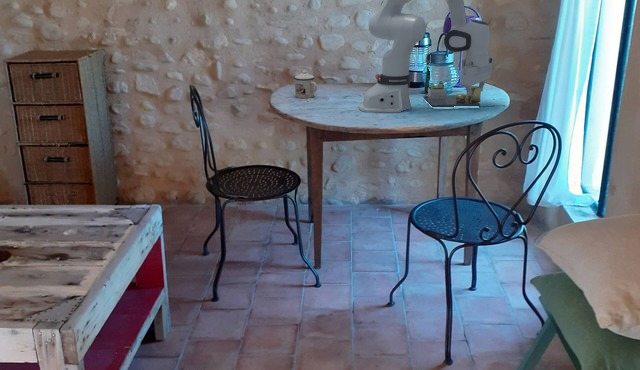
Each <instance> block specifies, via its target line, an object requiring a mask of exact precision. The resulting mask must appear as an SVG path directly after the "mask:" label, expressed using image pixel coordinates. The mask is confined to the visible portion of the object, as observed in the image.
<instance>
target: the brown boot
mask: <svg viewBox="0 0 640 370" xmlns="http://www.w3.org/2000/svg"><path fill="white" fill-rule="evenodd" d="M471 91H472V95H471V96H468V97H467V95H466V94H467V93H457V94H455V95H456V100H460V101H464V100H465V101H468V102H471V103H479V104H480V103H481V97H482V96H481V94H482V92H481V87H479V85H478V86H476V85H472V87H471Z"/></svg>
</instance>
